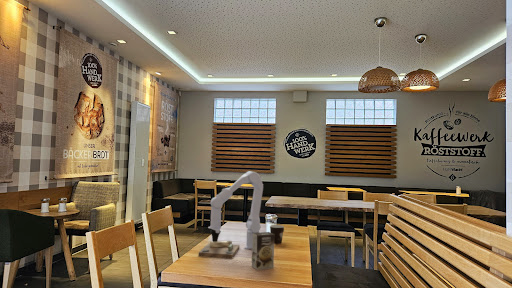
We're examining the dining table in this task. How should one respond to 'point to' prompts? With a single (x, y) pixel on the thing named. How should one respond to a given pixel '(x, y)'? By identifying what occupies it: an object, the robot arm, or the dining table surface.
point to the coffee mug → (277, 233)
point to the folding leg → (220, 243)
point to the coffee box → (263, 250)
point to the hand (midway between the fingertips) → (214, 243)
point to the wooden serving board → (219, 251)
